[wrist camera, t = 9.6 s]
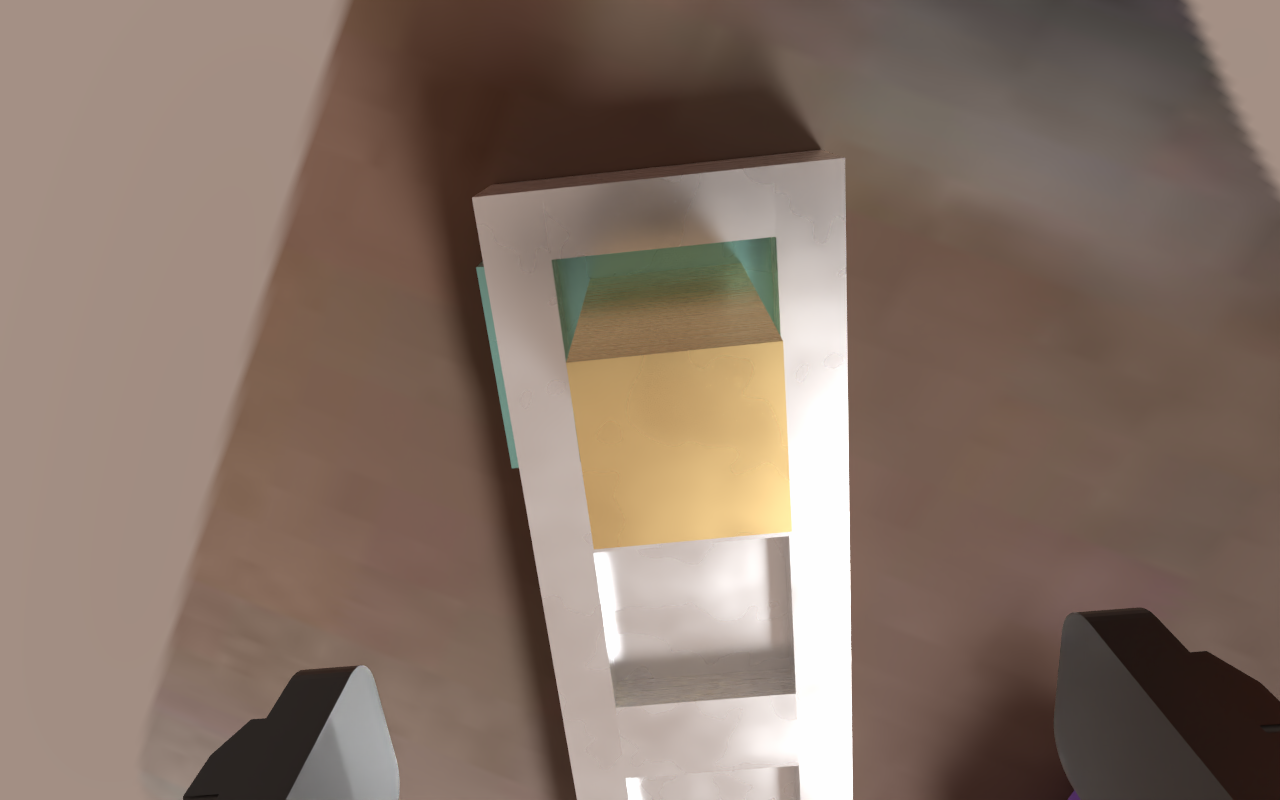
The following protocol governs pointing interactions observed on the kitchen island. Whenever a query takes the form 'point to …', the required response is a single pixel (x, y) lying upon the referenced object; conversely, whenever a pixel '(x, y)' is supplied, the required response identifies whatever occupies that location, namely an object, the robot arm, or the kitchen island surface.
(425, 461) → the kitchen island surface
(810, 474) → the white compartment tray
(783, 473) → the brass block
